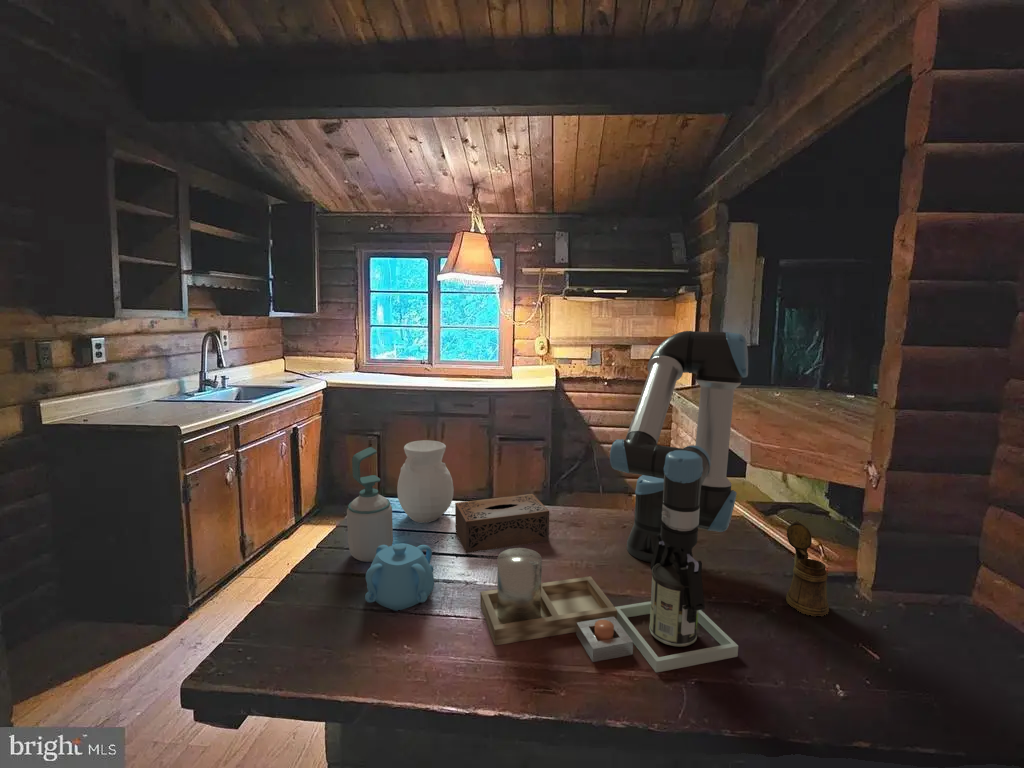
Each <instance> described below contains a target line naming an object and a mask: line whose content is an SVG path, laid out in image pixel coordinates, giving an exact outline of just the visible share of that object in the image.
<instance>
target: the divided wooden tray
mask: <svg viewBox="0 0 1024 768" xmlns="http://www.w3.org/2000/svg"><path fill="white" fill-rule="evenodd" d="M592 577H593V576H589V575H588V576H583V577H576V578H569V579H562V580H561V579H560V580H556V581H555V580H554V581H547V582H541V617H540V618H538V619H532V620H525V621H519V622H513V623H506V624H503V623H501V622H500V621H499V619H498V617H497V588H496V589H490V590H484V591H480V594H479V595H480V599H479V600H480V605H479V606H480V608H481V610H482V614H483V617H484V620H485V622H486V625H487V628H488V631H489V633H490V636H491V639H492V641H493V644H494V646H500V645H506V644H511V643H518V642H523V641H529V640H534V639H536V640H537V639H542V638H547V637H548V638H549V637H553V636H561V635H566V634H571V633H576V624H577V622H583V621H589V620H595V619H601V618H608V617H615V618H616V620H617V609H616V608H615V607H616V606H614V604H613V603H612V601H611V600H610V599H609V598H608V597H607V595H606V594H605V593H604V591H603V590H602V589H601V588H600V586H599V585H598V584H597V582H596V581H595V580H594V579H593V578H592Z"/></svg>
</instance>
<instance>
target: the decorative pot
mask: <svg viewBox="0 0 1024 768" xmlns="http://www.w3.org/2000/svg"><path fill="white" fill-rule="evenodd" d="M424 550H426V551H425V553H426V554H424V552H423V551H424ZM432 556H433V551H432V548H431V546H429V545H427V544H420V545H418V546H415V545H412V544H410V543H409V544H408V543H403V542H402V543H396V544H392V546H389V547H388V546H387V545H380V546H379V547H378V548H377V549H376V556H375V558H374V560H373V561H372V562H371V564H370V567H369V568H368V569H367V571H366V573H365V581H366V587H367V592H366V593H365V596H364V599H365V601H366V602H367V603H374V602H376V603H377V604H379V605H380V606H382V607H384V608H386V609H389V610H392V611H395V612H399V611H398V610H400V611H402V610H406V609H410V608H411V607H414V606H415V605H418V604H419V603H425V602H426V601H427V600H428V597H430V595H431V593H432V591H433V590H434V589H435V588H434V587H435V579H434V574H433V572H434V566H433V565H432V564H431V560H432Z"/></svg>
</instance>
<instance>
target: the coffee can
mask: <svg viewBox="0 0 1024 768" xmlns="http://www.w3.org/2000/svg"><path fill="white" fill-rule="evenodd" d="M683 569H687V566H686V567H684V568H681V570H683ZM684 588H685V587H684V586H683V585H682V584H681V582H680V577H679V574H677V573H676V569H675V566H674V564H672V565H670V566H663V567H662V566H661V564H660V563H657V564H656V565H655V566H654V567H653V568H652V570H651V591H650V593H651V594H650V595H651V597H650V601H651V611H650V614H649V627H648V628H649V633H650V634H651V635H652V636H653V637H654V639H656V640H657V641H659V642H661V643H662V644H665V645H668V646H671V647H681V648H682V647H687V646H688V647H689V646H690V645H692V644H694V643H696V641H697V640H698V639H697V638H698V624H699V623H698V610H697V614H696V622H695V629H694V634H688V635H682V634H681V624H682V609H683V605H685V600H684ZM686 588H689V586H686Z"/></svg>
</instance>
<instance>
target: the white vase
mask: <svg viewBox="0 0 1024 768" xmlns="http://www.w3.org/2000/svg"><path fill="white" fill-rule="evenodd" d="M446 448H447V445H446V444H445V443H444V442H441V441H438V440H431V439H427V440H426V439H425V440H422V439H421V440H415V441H414V440H413V441H410V442H408V443H407V442H406V444H404V446H403V450H404V454H405V456H406V458H405V461H404V463H403V464H402V466H401V467H400V473H399V476H398V480H397V488H396V491H397V492H396V493H397V499H398V502H399V505H400V507H401V509H402V510H403V511H404V513H405V514H406V515H407V516H408V517H409V519H411V520H412V521H413V522H415V523H420V524H421V523H432V522H434V521H437V520H438V519H439V518H440V517H441V516H442V515H444V514H445V513H446V512H447V510H448V509H449V508H450V507H451V505H452V502H453V501H452V500H453V499H454V492H455V491H454V488H455V487H454V481H453V478H452V475H451V473H450V470H449V469H448V467H447V466H446V465H447V464H446V462H442V461H443V457H444V454H445V453H446Z"/></svg>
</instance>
